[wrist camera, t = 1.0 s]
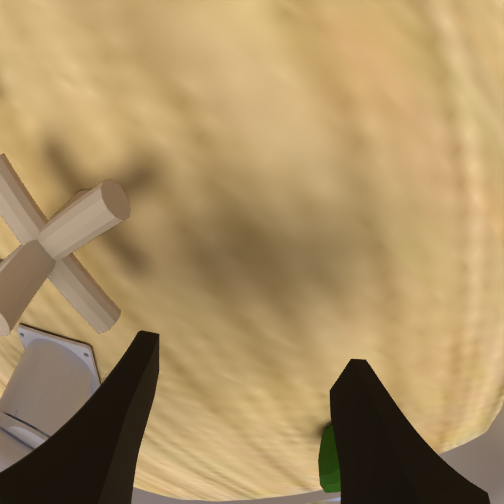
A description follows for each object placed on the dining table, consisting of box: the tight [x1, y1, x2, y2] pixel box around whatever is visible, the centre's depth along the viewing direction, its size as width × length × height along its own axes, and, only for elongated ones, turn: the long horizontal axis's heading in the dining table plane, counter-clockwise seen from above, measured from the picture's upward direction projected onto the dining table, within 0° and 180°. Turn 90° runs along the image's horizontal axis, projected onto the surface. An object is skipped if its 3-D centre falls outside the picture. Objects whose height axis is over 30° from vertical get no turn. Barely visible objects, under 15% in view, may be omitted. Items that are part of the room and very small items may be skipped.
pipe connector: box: [0, 154, 131, 337], centre depth 13 cm, size 10×10×10 cm
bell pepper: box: [318, 425, 341, 493], centre depth 28 cm, size 8×8×10 cm
